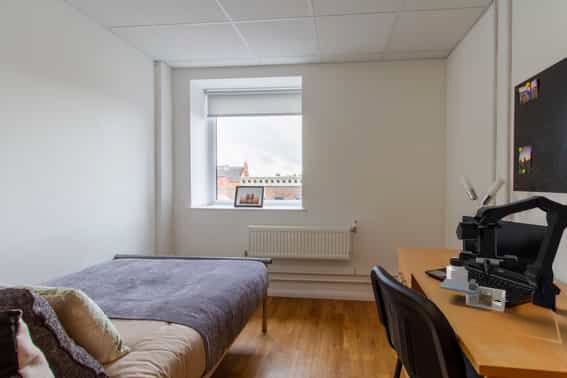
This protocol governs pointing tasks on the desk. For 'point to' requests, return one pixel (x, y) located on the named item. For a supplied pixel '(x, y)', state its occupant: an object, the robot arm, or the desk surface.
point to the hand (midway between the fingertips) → (487, 280)
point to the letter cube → (485, 298)
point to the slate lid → (460, 285)
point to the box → (496, 295)
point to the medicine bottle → (457, 270)
